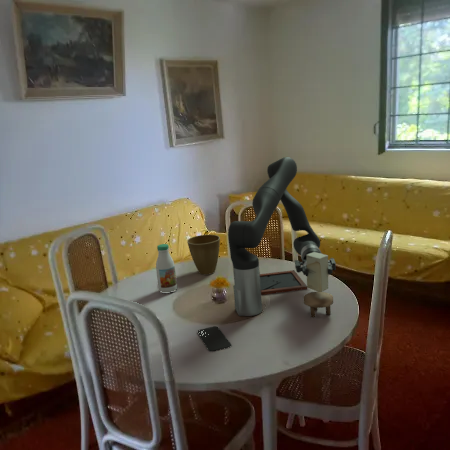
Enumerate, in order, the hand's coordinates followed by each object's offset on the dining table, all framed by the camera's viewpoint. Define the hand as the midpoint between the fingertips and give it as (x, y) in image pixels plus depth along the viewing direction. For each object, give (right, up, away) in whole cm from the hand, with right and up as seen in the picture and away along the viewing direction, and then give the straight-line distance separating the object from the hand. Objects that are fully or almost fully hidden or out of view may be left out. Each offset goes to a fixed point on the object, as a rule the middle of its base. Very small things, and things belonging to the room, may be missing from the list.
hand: (318, 272), depth 148 cm
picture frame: (-12, -9, +36) cm, 39 cm away
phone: (-35, -21, -6) cm, 41 cm away
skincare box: (+1, -6, +4) cm, 7 cm away
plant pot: (-40, -6, +57) cm, 70 cm away
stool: (+1, -15, +6) cm, 16 cm away
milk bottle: (-55, -12, +38) cm, 68 cm away
